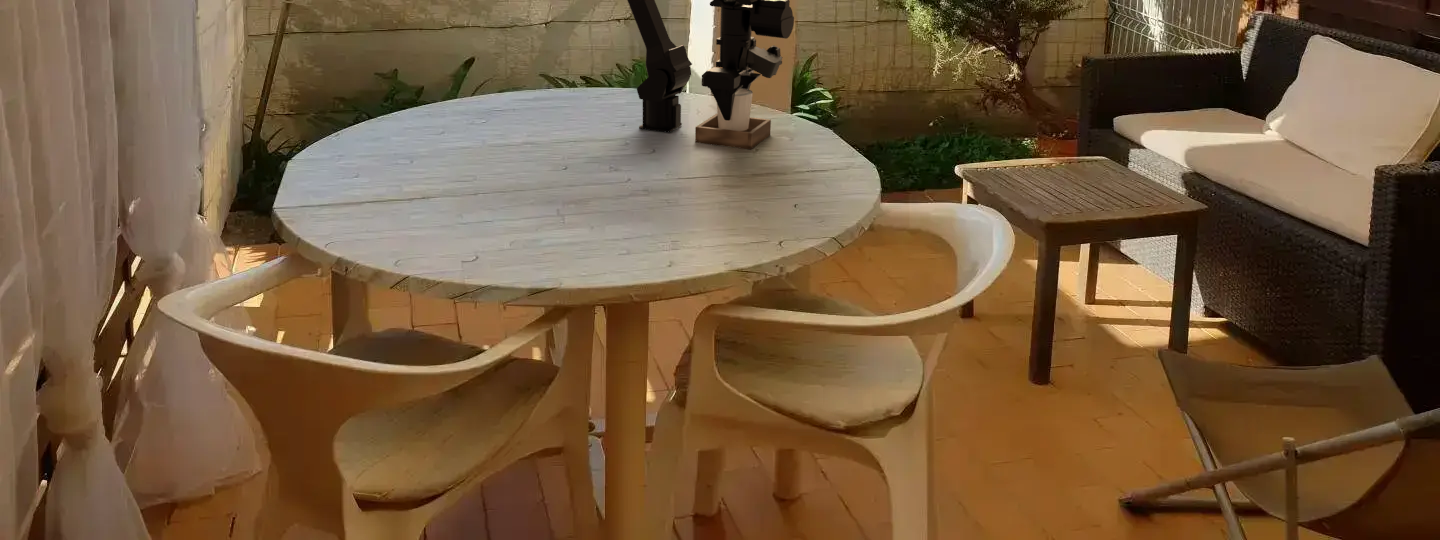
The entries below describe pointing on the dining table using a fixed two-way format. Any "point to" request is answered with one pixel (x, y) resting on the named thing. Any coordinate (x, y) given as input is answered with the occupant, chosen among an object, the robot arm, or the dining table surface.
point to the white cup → (738, 112)
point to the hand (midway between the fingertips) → (733, 116)
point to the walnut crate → (733, 133)
